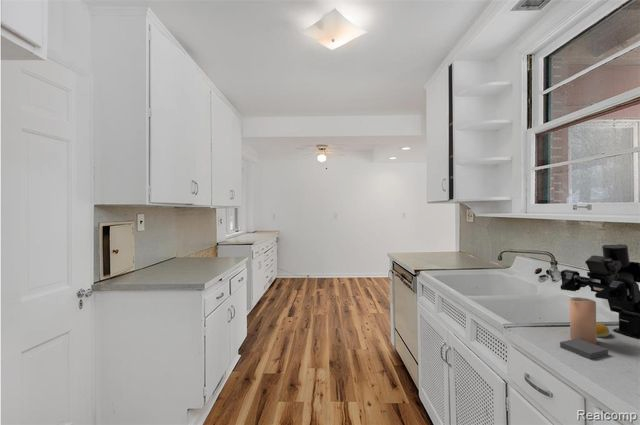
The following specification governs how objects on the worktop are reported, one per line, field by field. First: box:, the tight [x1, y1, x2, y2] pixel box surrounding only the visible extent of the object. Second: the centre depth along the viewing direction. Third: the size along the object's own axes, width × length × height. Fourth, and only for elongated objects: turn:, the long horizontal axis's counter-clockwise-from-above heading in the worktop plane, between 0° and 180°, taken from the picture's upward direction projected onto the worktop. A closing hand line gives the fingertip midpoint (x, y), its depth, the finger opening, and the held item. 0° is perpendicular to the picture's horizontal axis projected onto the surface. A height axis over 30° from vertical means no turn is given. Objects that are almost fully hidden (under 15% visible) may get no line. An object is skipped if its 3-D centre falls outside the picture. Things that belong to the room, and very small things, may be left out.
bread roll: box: [596, 321, 610, 338], centre depth 96 cm, size 8×9×4 cm
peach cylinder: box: [569, 296, 597, 345], centre depth 90 cm, size 6×6×12 cm
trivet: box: [559, 338, 609, 360], centre depth 84 cm, size 8×8×2 cm
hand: (577, 291), depth 87 cm, fingers open, 9 cm apart
